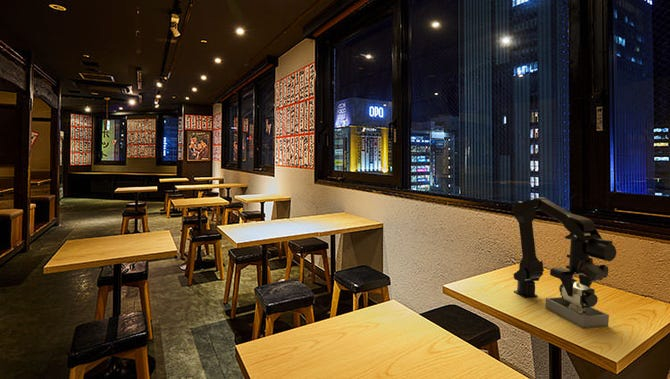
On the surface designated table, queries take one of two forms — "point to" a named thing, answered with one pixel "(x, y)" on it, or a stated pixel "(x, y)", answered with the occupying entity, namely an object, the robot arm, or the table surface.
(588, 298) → the pneumatic valve
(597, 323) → the bin
